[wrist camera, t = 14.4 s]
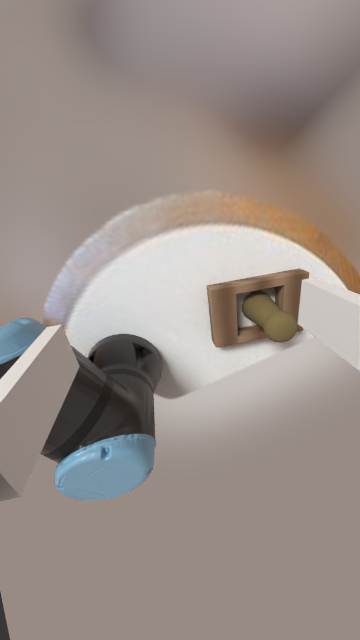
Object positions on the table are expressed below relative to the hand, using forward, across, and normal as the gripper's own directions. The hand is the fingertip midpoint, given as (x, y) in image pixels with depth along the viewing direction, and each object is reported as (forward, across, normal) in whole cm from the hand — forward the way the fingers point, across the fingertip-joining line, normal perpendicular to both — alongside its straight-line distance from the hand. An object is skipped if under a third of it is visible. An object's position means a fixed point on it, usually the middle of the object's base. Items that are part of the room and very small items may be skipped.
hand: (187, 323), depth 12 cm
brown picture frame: (+29, +16, -14) cm, 36 cm away
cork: (+29, +17, -14) cm, 36 cm away
